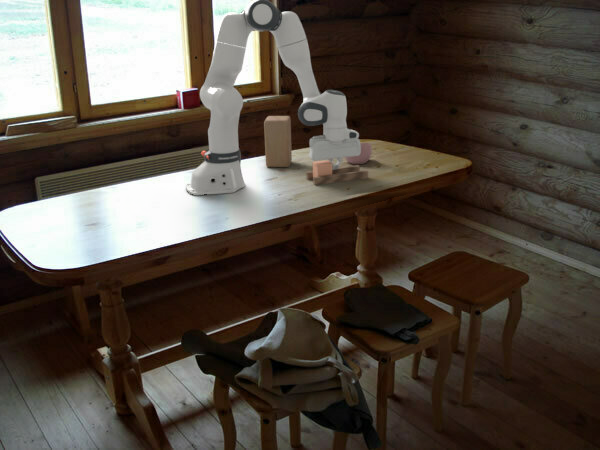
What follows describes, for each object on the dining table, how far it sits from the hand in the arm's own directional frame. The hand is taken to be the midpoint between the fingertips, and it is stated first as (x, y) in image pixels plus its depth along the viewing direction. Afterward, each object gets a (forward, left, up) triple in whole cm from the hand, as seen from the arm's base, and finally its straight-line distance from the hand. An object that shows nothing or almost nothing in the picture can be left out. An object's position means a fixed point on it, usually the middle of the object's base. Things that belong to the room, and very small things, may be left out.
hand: (335, 169), depth 249 cm
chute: (+1, 0, -5) cm, 5 cm away
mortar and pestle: (+18, +18, -5) cm, 26 cm away
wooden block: (-12, +32, -5) cm, 35 cm away
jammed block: (-5, 0, -4) cm, 7 cm away
